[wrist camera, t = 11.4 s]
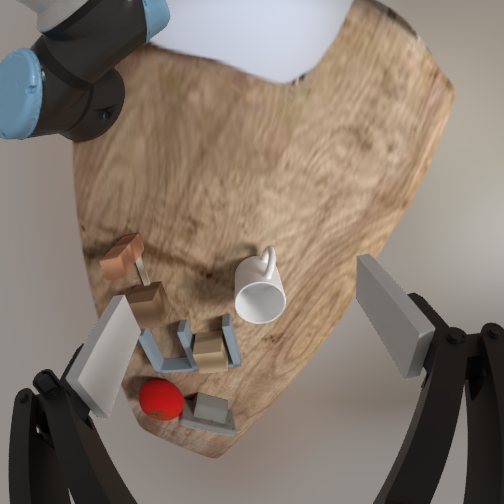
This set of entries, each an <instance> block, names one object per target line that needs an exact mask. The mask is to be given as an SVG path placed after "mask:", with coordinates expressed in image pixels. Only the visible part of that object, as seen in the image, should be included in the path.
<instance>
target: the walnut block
mask: <svg viewBox="0 0 504 504" xmlns="http://www.w3.org/2000/svg"><path fill="white" fill-rule="evenodd" d="M143 251H144V247H143V244H142V240H141V237H140V234H139V233H135V234H131V235H126V236H123V237H122V238H121V239H120V240H119V241H118V242H117V243H116V244H115V245H114V246H113V247H112V248H111V249H110V250H109V252H108V253H107V254H106V255H105V256H104V257H103V258H102V259H101V260H100V264H101V266H102V269H103V272H104V274H105V277H106V279H107V280H112V279H118V278H125V276H126V275H127V273H128V272H129V271H130V269H131V268H132V266H133V265H134V263H135V262H136V265H137V267H138V270H139V273H140V276H141V278H142V281H143V284H141V285H135V287H134V288H133V290H132V292H131V293H130V295H129V297H128V299H127V302H128V304H129V306H130V308H131V311H132V313H133V315H134V317H135V319H136V322H137V324H138V326H139V328H140V329H144V328H155V327H163V325H164V322H165V319H166V316H167V313H168V310H169V308H170V304H169V302H168V299H167V296H166V293H165V291H164V288H163V285H162V282H161V281H160V282H154V283H150V280H149V277H148V275H147V272H146V269H145V266H144V263H143V260H142V257H141V254H142V252H143Z"/></svg>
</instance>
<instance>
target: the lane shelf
mask: <svg viewBox="0 0 504 504" xmlns="http://www.w3.org/2000/svg"><path fill="white" fill-rule="evenodd" d="M222 329H223V332H224V335H225V339H226V342H227V345H228V348H229V352H230V353H228V367H236V366H241V353H240V350H239V346H238V343H237V339H236V335H235V332H234V328H233V324H232V320H231V317H230V314H226V315H223V320H222ZM140 330H141V333H140V336H139V338H138V339H139V341H140V343H141V345H142V347H143V349H144V351H145V353H146V355H147V357H148V358H149V360H150V362H151V364H152V366H153V367H154V369H155V371H156V373H167V372H184V371H197V370H199V369H198V367H197V364H196V362H195V360H194V357H193V355H192V354H193V348H194V342H195V341H194V338H193V336H192V333H191V330H190V328H189V325H188V322H187V320H181V321H180V323H179V327H178V331H177V334H178V336H179V338H180V341H181V343H182V345H183V348H184V350H185V352H186V355H187V357H184V358H171V359H164V358H163V356H162V354H161V352H160V350H159V348H158V346H157V344H156V342H155V340H154V338H153V335H152V333H151V331H150V329H149V328H144V329H140Z"/></svg>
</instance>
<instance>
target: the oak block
mask: <svg viewBox="0 0 504 504" xmlns="http://www.w3.org/2000/svg"><path fill="white" fill-rule="evenodd" d="M192 355H193V357H194V360H195V362H196V364H197V367H198V369H199V371H200V373H212V372H222V371H228V347H227V343H226V340H225V337H224V333H223V330H217V331H209V332H201V333H196V337H195V342H194V348H193V354H192Z"/></svg>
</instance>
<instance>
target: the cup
mask: <svg viewBox="0 0 504 504" xmlns="http://www.w3.org/2000/svg"><path fill="white" fill-rule="evenodd" d="M268 258H269V259H268ZM234 305H235V309H236V312H237V313H238V315H239V316H240V317H241V318H242V319H244V320H245V321H247V322H250V323H254V324H263V323H268V322H271V321H273V320H275V319H276V318H277V317H279V316H280V315H281V313H282V312H283V310H284V308H285V305H286V298H285V294H284V291H283V287H282V284H281V280H280V276H279V273H278V270H277V267H276V266H275V251H274V248H273V247H272V246H267V247H266V248H265V250H264V252H263V254H262V256H252V257H249V258H246V259H245V260H243V261H242V262H241V263H240V264H239V265H238V267H237V269H236V272H235V304H234Z"/></svg>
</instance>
